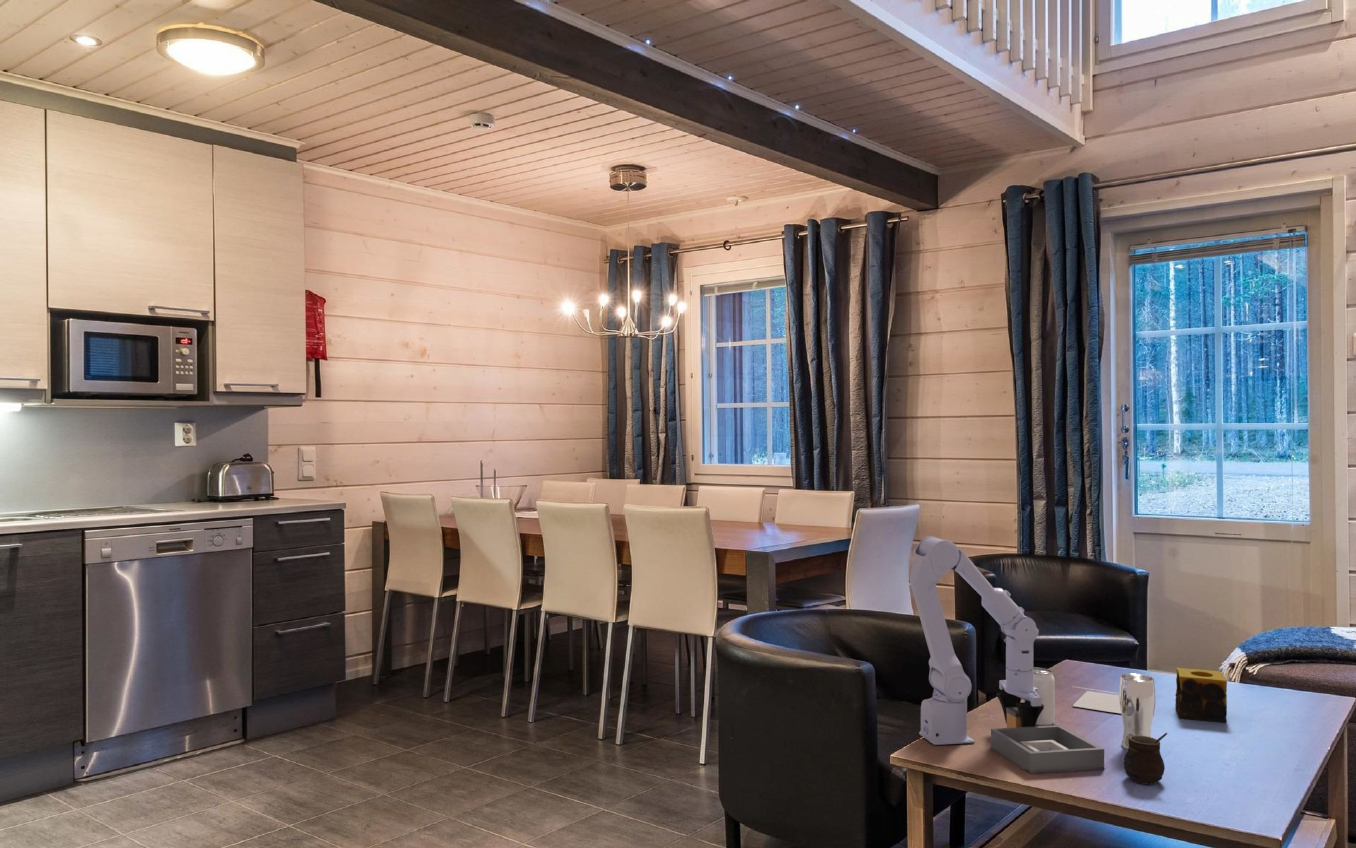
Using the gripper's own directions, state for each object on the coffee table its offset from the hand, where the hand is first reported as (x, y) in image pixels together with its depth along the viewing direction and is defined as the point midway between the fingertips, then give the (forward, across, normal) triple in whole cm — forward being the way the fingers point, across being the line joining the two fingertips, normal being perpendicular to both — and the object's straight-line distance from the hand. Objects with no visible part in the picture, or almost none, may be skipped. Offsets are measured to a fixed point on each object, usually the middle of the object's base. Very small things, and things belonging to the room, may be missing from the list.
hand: (1019, 730), depth 215 cm
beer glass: (+2, -11, -21) cm, 24 cm away
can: (+2, +9, -10) cm, 14 cm away
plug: (+2, 0, 0) cm, 2 cm away
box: (+1, -14, +2) cm, 14 cm away
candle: (+2, +8, -51) cm, 52 cm away
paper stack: (+2, +26, -35) cm, 44 cm away
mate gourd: (+2, -29, -10) cm, 31 cm away
